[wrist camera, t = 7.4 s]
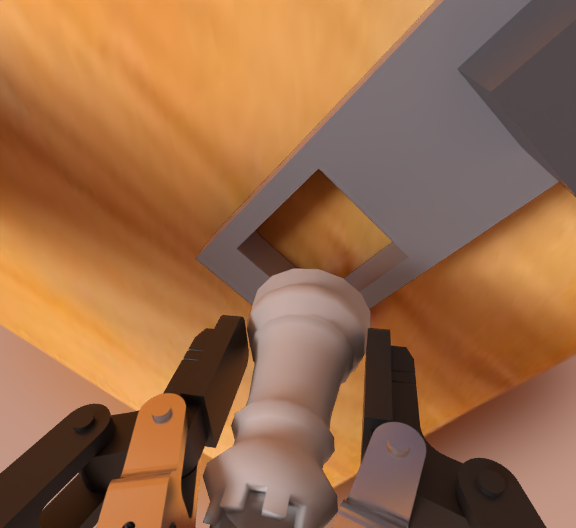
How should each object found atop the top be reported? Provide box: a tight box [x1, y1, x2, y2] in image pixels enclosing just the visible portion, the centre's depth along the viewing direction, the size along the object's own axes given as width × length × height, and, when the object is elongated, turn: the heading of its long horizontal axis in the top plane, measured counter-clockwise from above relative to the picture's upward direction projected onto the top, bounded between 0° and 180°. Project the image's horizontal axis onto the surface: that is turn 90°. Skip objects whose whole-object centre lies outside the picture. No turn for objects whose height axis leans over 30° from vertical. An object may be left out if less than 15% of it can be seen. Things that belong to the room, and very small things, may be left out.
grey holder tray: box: [196, 0, 576, 309], centre depth 15 cm, size 22×8×8 cm, turn 138°
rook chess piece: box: [203, 269, 371, 528], centre depth 12 cm, size 4×4×8 cm
